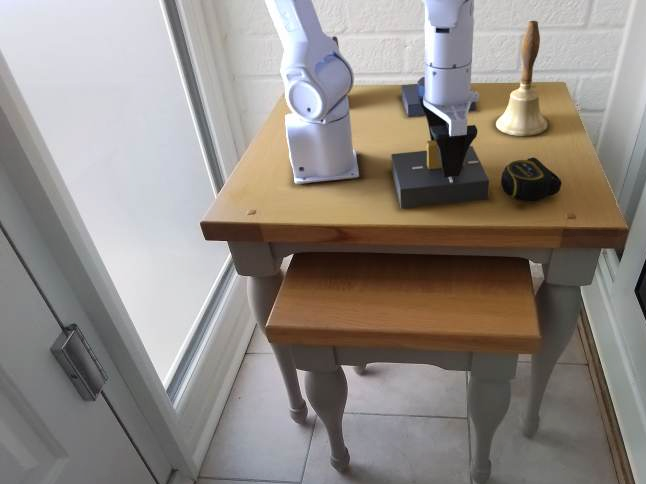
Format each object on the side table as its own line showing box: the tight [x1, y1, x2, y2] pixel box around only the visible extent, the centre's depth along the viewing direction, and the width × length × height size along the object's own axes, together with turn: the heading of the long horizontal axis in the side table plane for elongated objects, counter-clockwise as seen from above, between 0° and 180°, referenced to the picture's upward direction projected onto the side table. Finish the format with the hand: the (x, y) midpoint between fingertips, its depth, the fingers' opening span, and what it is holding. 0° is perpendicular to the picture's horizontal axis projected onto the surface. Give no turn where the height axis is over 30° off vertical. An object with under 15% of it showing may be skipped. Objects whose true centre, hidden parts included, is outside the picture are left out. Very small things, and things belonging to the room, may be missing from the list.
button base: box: [400, 76, 477, 118], centre depth 96 cm, size 12×9×4 cm
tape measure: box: [500, 156, 562, 203], centre depth 72 cm, size 7×7×4 cm
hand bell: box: [495, 20, 548, 137], centre depth 84 cm, size 8×8×16 cm
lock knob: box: [426, 140, 464, 169], centre depth 73 cm, size 5×1×4 cm, turn 96°
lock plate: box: [391, 145, 490, 209], centre depth 75 cm, size 12×10×3 cm
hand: (445, 161), depth 74 cm, fingers open, 7 cm apart
